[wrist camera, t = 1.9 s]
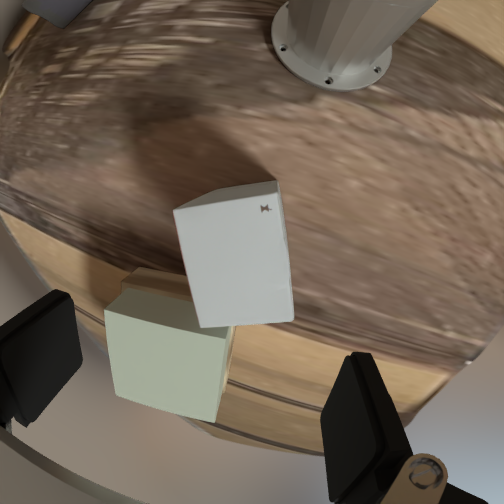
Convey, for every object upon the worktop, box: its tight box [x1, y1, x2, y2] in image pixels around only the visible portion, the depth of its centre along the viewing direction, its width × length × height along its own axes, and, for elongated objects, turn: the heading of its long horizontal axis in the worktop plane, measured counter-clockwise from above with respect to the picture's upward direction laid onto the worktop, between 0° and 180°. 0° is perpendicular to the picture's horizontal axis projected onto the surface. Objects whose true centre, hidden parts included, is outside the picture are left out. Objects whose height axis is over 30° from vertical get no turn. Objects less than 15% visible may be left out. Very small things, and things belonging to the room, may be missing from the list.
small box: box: [172, 180, 294, 328], centre depth 23 cm, size 8×6×13 cm
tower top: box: [104, 288, 232, 423], centre depth 26 cm, size 11×11×5 cm
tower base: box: [121, 267, 236, 394], centre depth 31 cm, size 12×12×5 cm
